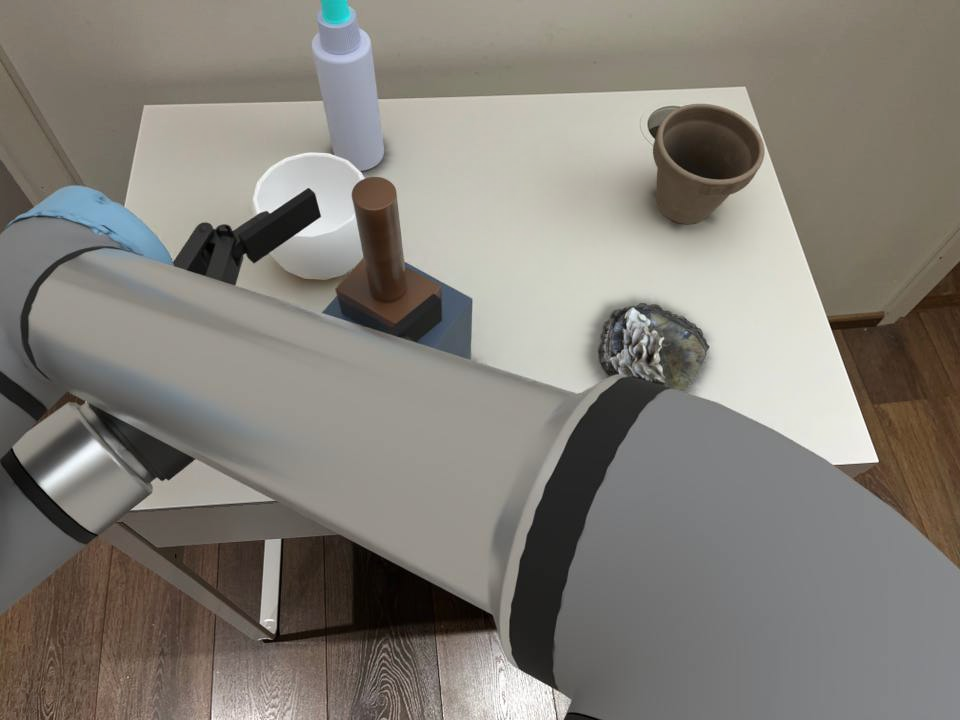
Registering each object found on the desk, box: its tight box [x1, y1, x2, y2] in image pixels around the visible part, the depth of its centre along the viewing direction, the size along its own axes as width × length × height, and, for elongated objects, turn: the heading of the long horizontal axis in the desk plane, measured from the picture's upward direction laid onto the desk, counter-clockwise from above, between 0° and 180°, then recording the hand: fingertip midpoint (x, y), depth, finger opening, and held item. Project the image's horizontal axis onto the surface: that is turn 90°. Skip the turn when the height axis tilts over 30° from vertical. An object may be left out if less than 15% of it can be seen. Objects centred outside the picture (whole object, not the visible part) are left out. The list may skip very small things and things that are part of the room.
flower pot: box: [652, 103, 765, 225], centre depth 78 cm, size 12×11×10 cm
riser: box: [321, 261, 474, 360], centre depth 65 cm, size 10×10×12 cm
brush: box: [334, 176, 442, 343], centre depth 53 cm, size 7×5×15 cm
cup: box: [251, 151, 365, 281], centre depth 73 cm, size 12×12×10 cm
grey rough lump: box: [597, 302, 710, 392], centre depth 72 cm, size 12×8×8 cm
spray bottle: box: [311, 0, 385, 172], centre depth 75 cm, size 6×6×22 cm
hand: (374, 252), depth 52 cm, fingers open, 13 cm apart
